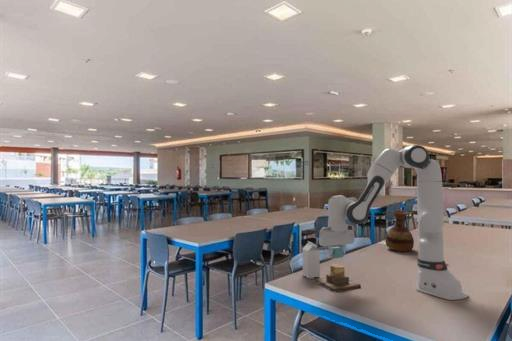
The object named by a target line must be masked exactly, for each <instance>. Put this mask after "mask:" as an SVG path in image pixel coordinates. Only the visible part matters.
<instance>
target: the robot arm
mask: <svg viewBox="0 0 512 341" xmlns="http://www.w3.org/2000/svg"><path fill="white" fill-rule="evenodd" d="M398 168H403V169H414V170H415V172H416V200H417V201H416V204H417V205H416V207H417V208H416V209H417V210H416V211H417V253H418V254H417V256H418V257H417V263H416V264H417V276H416V277H417V278H416V282H415V286H414V287H415V288H416V291H417V292H421V293H425V294H428V295H431V296H435V297H438V298H442V299H445V300H448V301H449V300H452V301H455V300H463V299H466V298H468V297H469V294H468V293H467V291H463V289H462V284H461V281H460V280H459V279H458V278H457V277H456V276H455V275H454V274H453V273H452V272H450V270H448V267H449V266H450V263H446V261H445V260H444V257H445V254H444V235H443V234H444V233H443V232H444V230H443V227H444V225H445V224H444V222H445V221H444V220H445V219H444V201H443V200H444V199H443V174H442V169H441V165H440V163H439V161H438V160H435V159H433V158H432V157H431V156H430V154H429V152H428V150H427V149H426V147H424V146H422V145H419V144H412V145H409V146H405V147H403V148H401V149H399V150H396V149H393V148H385V149H384V150H382V152H380V154H378V156H377V157H376V159H375V160H374V162H373V163H372V164H371V166H370V168H368V172H367V176H366V177H367V185H366V187H365V189H364V190H363V192H362V194H361V195H360V196H359V198H358V199H357V200H356V201H354V200H352V199H349V198H348V197H346V196H344V195H343V194H339V195H333V196H331V197H329V199H328V201H327V202H328V203H327V214H328V219H327V227H322V228H321V229H319V238H318V244H319V246H321V247H327V249H328V250H329V255H331V254H334V251H333V250H332V248H333V247H335V246H341V247H340V248H343V254H345V253H344V252H345V249H346V248H347V247H346V245H351V244H354V243H355V241H356V240H355V236H356V235H355V231H354V230H355V226H354V225H361V224H364V223H365V222H366V221H367V220H368V218H369V215H370V209H371V207H372V205H373V204H374V202H375V200H376V198H377V197H378V195H379V194H380V191H382V189H383V188H384V186H385V185H386V184H387V183H388V182H389V181H390V179H391V178H392V177H393V175H394V174H395V172H396V171H397V169H398ZM347 220H348V221H349V222H351V223H352V224H354V225H351V224H348V223H346V221H347Z"/></svg>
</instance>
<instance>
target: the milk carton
mask: <svg viewBox="0 0 512 341" xmlns="http://www.w3.org/2000/svg"><path fill="white" fill-rule="evenodd" d="M320 254H321V253H320V249H318V247H317V244H315V243H314V242H311V241H309V240H307V243H306V244H305V245H304V246H303V247H302V276H303V277H305V276H306V277H307V278H306V277H305V278H306V279H308V278H309V279H315V278H314V277H319V278H320V276H321V275H320V274H321V272H320V271H321V268H320V264H321V263H320V261H321V260H320V257H321V256H320Z"/></svg>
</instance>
